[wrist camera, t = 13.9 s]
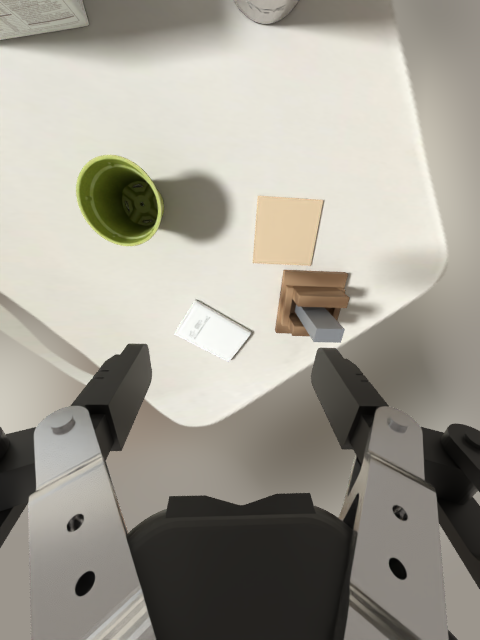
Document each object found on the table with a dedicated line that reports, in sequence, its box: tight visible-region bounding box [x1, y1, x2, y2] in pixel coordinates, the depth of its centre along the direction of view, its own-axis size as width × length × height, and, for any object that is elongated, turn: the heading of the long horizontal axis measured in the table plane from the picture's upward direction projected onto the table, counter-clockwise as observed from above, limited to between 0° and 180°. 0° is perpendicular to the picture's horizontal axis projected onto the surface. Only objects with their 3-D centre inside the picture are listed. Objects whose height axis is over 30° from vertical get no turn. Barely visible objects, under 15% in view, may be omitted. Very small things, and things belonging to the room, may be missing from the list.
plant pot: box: [76, 155, 164, 246], centre depth 30 cm, size 9×9×9 cm
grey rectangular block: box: [295, 305, 345, 342], centre depth 37 cm, size 2×4×10 cm, turn 87°
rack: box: [275, 270, 350, 336], centre depth 40 cm, size 12×11×6 cm
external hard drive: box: [174, 299, 251, 362], centre depth 44 cm, size 2×8×12 cm
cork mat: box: [253, 196, 323, 266], centre depth 37 cm, size 10×10×1 cm
